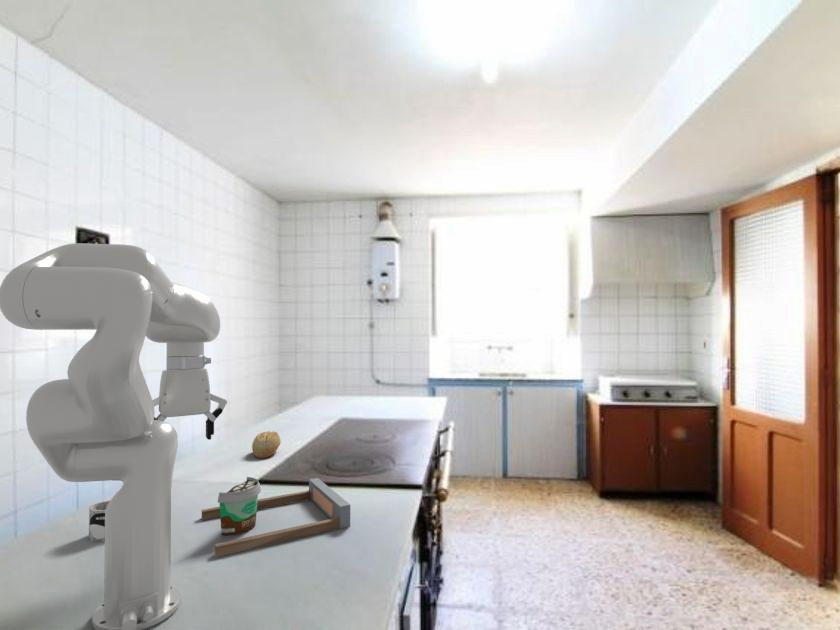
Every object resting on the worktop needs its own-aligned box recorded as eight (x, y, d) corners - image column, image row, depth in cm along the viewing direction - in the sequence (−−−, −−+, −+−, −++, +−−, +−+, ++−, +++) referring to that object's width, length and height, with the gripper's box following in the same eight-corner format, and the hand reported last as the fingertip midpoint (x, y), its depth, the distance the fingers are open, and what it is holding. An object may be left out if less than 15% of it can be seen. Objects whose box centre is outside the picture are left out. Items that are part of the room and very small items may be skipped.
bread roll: (283, 448, 186) (283, 427, 186) (277, 459, 171) (277, 436, 171) (257, 449, 184) (257, 428, 184) (248, 460, 169) (249, 437, 170)
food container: (242, 541, 106) (242, 495, 107) (217, 538, 108) (217, 493, 108) (270, 518, 119) (270, 477, 119) (247, 516, 120) (248, 476, 120)
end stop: (350, 525, 114) (350, 504, 114) (339, 528, 113) (339, 506, 113) (317, 495, 134) (317, 477, 134) (307, 497, 133) (307, 479, 133)
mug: (83, 543, 106) (84, 512, 106) (95, 530, 112) (95, 501, 112) (135, 537, 108) (135, 507, 108) (143, 525, 115) (144, 497, 115)
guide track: (340, 528, 113) (340, 519, 113) (216, 556, 99) (216, 547, 99) (308, 497, 133) (308, 490, 133) (201, 518, 119) (201, 509, 119)
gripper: (223, 360, 115) (223, 433, 115) (139, 364, 106) (139, 442, 106) (229, 363, 109) (229, 439, 109) (141, 367, 100) (140, 450, 100)
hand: (185, 441), depth 107 cm, fingers open, 9 cm apart
